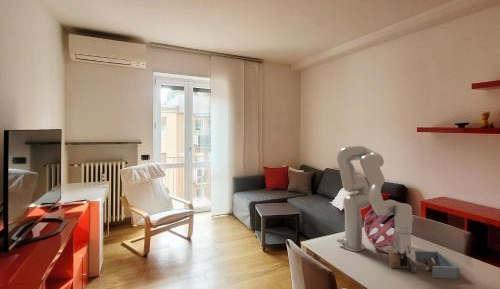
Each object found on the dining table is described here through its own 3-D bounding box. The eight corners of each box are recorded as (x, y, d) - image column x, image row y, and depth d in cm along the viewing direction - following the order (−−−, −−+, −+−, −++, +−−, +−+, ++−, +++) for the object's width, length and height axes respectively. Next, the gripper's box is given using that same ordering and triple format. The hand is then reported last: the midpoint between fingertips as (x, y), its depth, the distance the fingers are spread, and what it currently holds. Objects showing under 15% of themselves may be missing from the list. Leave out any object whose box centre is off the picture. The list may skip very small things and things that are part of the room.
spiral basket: (439, 223, 139) (396, 187, 157) (402, 245, 129) (361, 204, 148) (416, 250, 157) (381, 215, 176) (382, 271, 147) (348, 231, 166)
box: (433, 277, 123) (433, 267, 123) (414, 259, 141) (414, 250, 140) (459, 278, 122) (459, 268, 122) (437, 260, 139) (437, 251, 139)
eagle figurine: (415, 264, 134) (426, 270, 125) (422, 252, 134) (433, 257, 125) (429, 273, 133) (441, 279, 124) (436, 260, 133) (448, 266, 124)
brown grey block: (394, 271, 128) (394, 259, 128) (385, 260, 139) (385, 249, 139) (416, 272, 127) (416, 260, 127) (405, 261, 138) (405, 250, 138)
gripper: (388, 222, 141) (388, 256, 142) (402, 234, 125) (401, 272, 126) (403, 223, 140) (402, 257, 141) (419, 235, 124) (418, 273, 125)
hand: (402, 264), depth 133 cm, fingers closed on brown grey block
